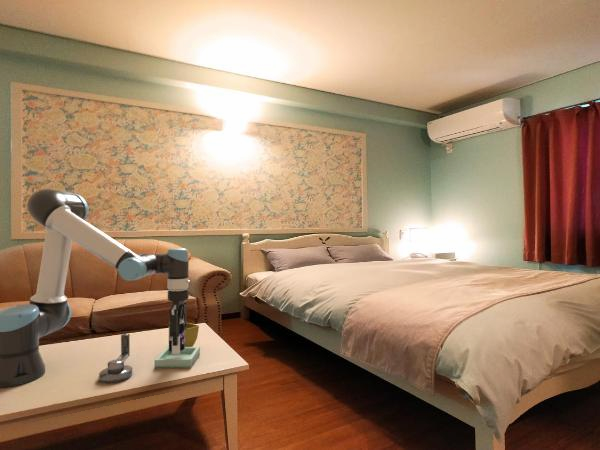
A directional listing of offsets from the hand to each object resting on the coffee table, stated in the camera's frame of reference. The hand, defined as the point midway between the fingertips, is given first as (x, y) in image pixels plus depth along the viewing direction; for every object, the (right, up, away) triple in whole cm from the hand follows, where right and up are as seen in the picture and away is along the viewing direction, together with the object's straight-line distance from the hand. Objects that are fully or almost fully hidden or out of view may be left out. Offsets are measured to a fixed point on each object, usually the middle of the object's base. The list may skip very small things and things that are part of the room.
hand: (178, 350), depth 132 cm
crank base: (-16, -4, -14) cm, 22 cm away
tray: (0, -4, 0) cm, 4 cm away
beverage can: (-1, -1, 0) cm, 1 cm away
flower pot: (-3, -4, +15) cm, 16 cm away
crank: (-17, -2, -9) cm, 20 cm away
